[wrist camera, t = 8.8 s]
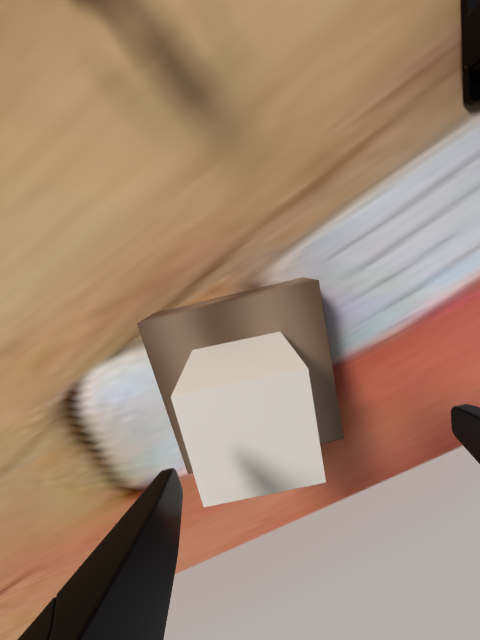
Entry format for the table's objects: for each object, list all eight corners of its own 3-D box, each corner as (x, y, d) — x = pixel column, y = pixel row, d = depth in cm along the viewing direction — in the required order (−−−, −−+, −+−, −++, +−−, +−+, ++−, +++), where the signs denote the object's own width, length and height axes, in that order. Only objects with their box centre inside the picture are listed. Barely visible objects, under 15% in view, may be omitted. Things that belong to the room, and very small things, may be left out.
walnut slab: (300, 277, 19) (318, 280, 16) (324, 407, 22) (343, 438, 18) (155, 312, 20) (137, 323, 16) (195, 437, 22) (188, 473, 18)
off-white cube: (280, 331, 16) (308, 368, 10) (294, 410, 18) (326, 482, 12) (192, 349, 16) (170, 396, 10) (212, 426, 18) (203, 507, 12)
